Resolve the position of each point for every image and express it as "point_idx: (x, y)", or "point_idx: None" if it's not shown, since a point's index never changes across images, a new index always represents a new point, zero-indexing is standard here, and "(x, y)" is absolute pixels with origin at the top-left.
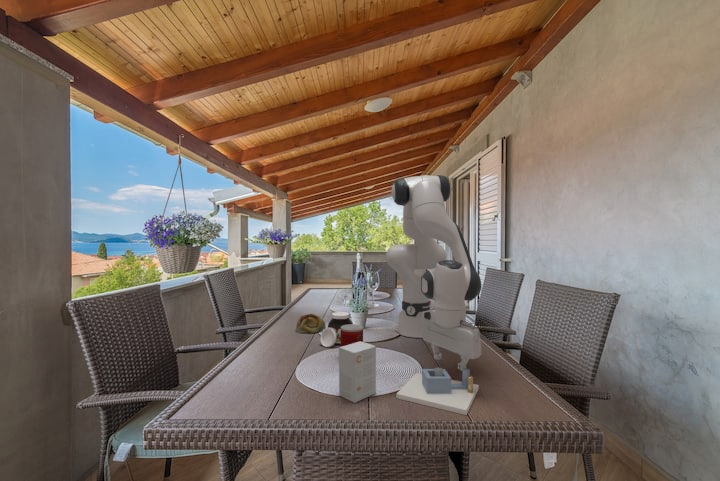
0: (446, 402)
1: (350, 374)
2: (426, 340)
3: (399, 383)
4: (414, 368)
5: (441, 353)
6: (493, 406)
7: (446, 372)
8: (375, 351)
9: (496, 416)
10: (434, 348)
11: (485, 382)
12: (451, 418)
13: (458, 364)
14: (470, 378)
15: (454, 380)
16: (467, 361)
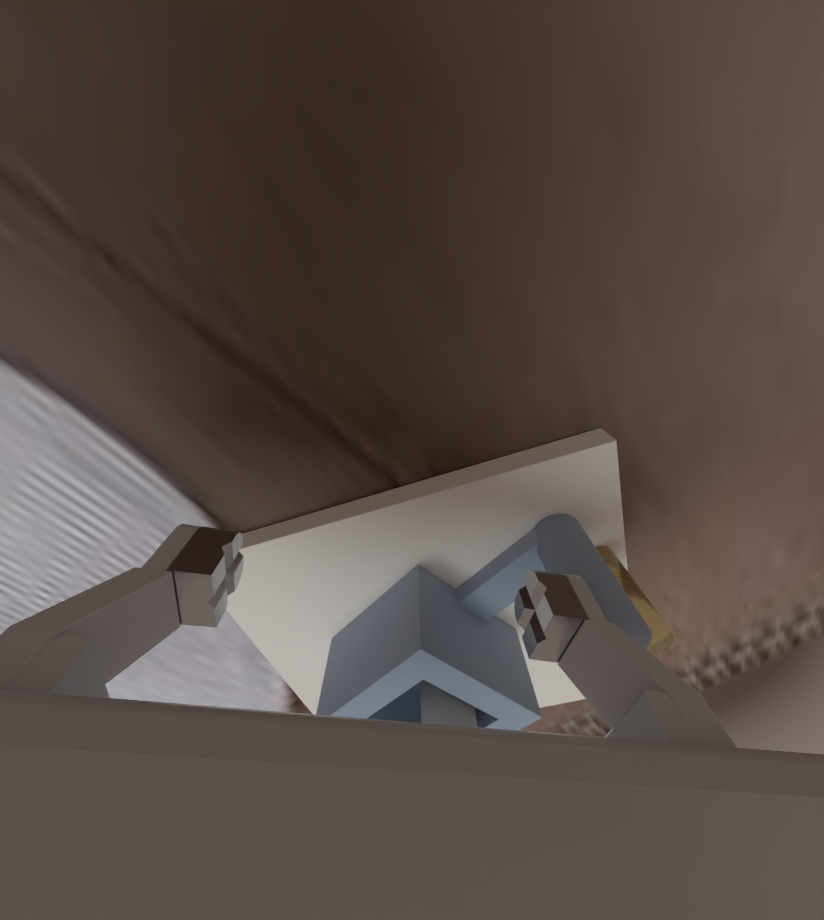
0: (540, 692)
1: None
2: None
3: (231, 649)
4: (55, 454)
5: (212, 575)
6: (725, 548)
7: (468, 680)
8: None
9: (746, 608)
10: (108, 666)
11: (613, 258)
12: (583, 704)
13: (534, 650)
14: (655, 649)
15: (442, 495)
16: (645, 659)
